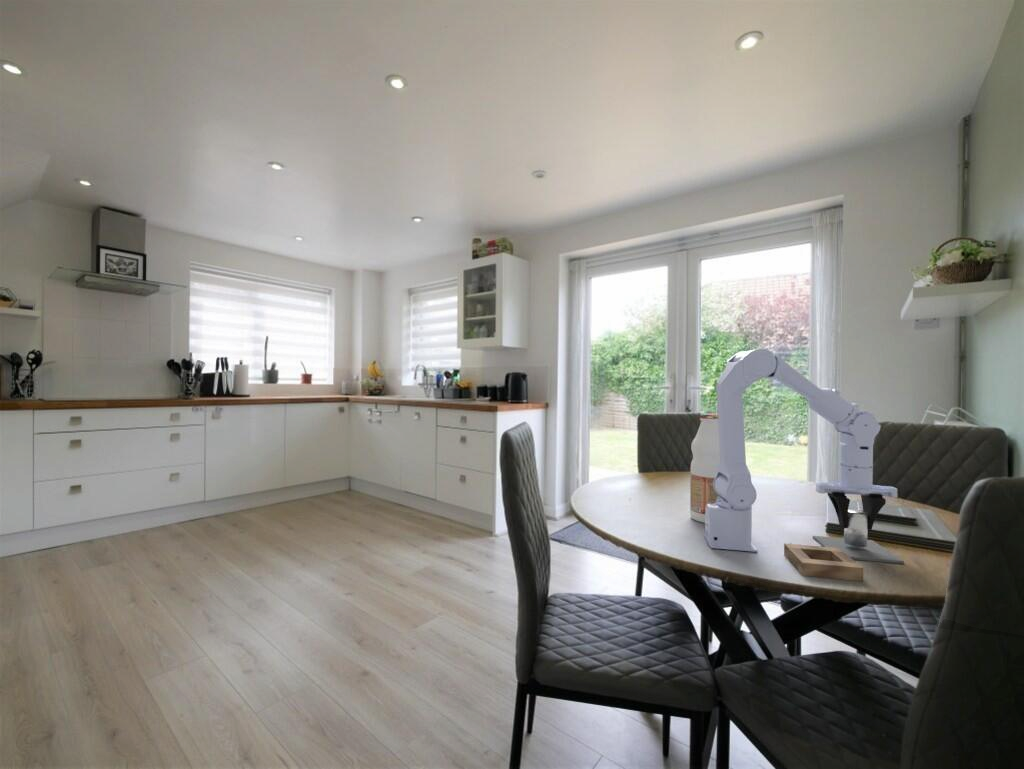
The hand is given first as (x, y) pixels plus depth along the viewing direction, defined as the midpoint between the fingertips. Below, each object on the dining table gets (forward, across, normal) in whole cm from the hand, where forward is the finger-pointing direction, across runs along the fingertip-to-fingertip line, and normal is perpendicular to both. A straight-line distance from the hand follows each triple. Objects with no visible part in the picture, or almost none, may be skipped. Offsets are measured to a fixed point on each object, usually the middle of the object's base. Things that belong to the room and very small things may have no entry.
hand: (855, 527), depth 98 cm
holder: (+5, -11, -12) cm, 17 cm away
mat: (+5, 0, 0) cm, 5 cm away
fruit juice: (+5, -27, +15) cm, 31 cm away
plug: (+3, 0, 0) cm, 4 cm away
